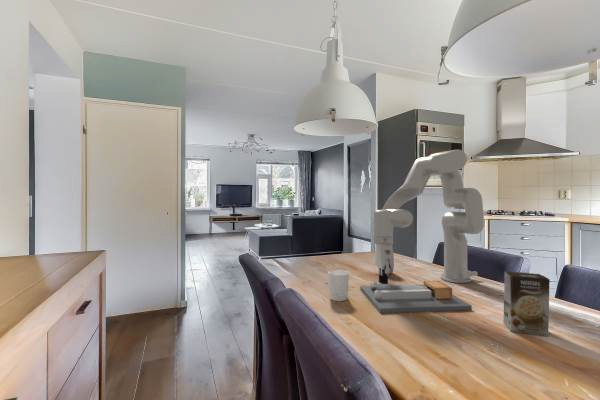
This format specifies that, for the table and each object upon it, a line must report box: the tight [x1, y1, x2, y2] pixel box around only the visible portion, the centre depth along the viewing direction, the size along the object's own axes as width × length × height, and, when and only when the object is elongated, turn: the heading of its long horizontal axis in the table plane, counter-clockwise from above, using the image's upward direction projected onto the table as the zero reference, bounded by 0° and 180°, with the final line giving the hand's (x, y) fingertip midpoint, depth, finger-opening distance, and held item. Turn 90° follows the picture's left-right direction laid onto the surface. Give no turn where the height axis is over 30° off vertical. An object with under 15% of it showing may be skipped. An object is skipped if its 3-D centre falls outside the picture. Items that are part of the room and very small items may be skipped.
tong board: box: [359, 284, 473, 314], centre depth 110 cm, size 32×24×4 cm
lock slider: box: [423, 280, 453, 299], centre depth 110 cm, size 6×9×4 cm, turn 4°
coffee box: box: [503, 270, 551, 337], centre depth 85 cm, size 9×6×16 cm
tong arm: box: [370, 281, 427, 290], centre depth 114 cm, size 21×3×2 cm, turn 74°
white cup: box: [327, 269, 350, 302], centre depth 111 cm, size 8×8×10 cm
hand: (383, 285), depth 119 cm, fingers closed
